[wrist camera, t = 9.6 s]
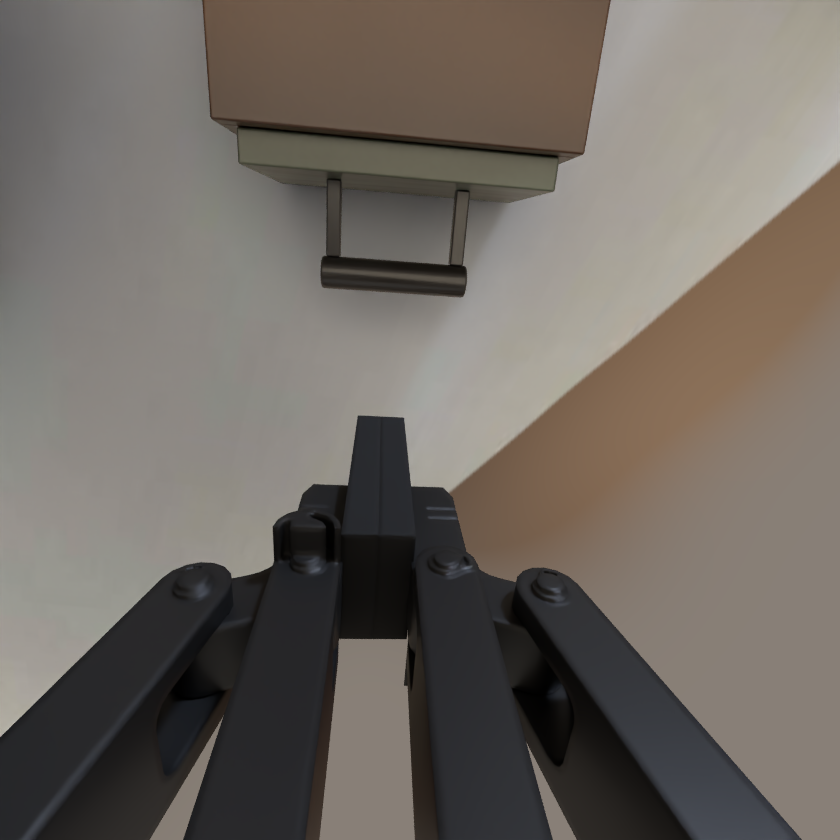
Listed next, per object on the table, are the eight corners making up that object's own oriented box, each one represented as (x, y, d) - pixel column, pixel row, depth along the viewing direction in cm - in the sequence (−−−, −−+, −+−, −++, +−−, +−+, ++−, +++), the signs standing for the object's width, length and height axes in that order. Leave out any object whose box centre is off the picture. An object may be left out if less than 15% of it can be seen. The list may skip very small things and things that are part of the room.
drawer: (499, 290, 27) (536, 310, 20) (283, 275, 26) (244, 290, 19) (556, -157, 21) (640, -354, 14) (270, -200, 20) (205, -434, 13)
